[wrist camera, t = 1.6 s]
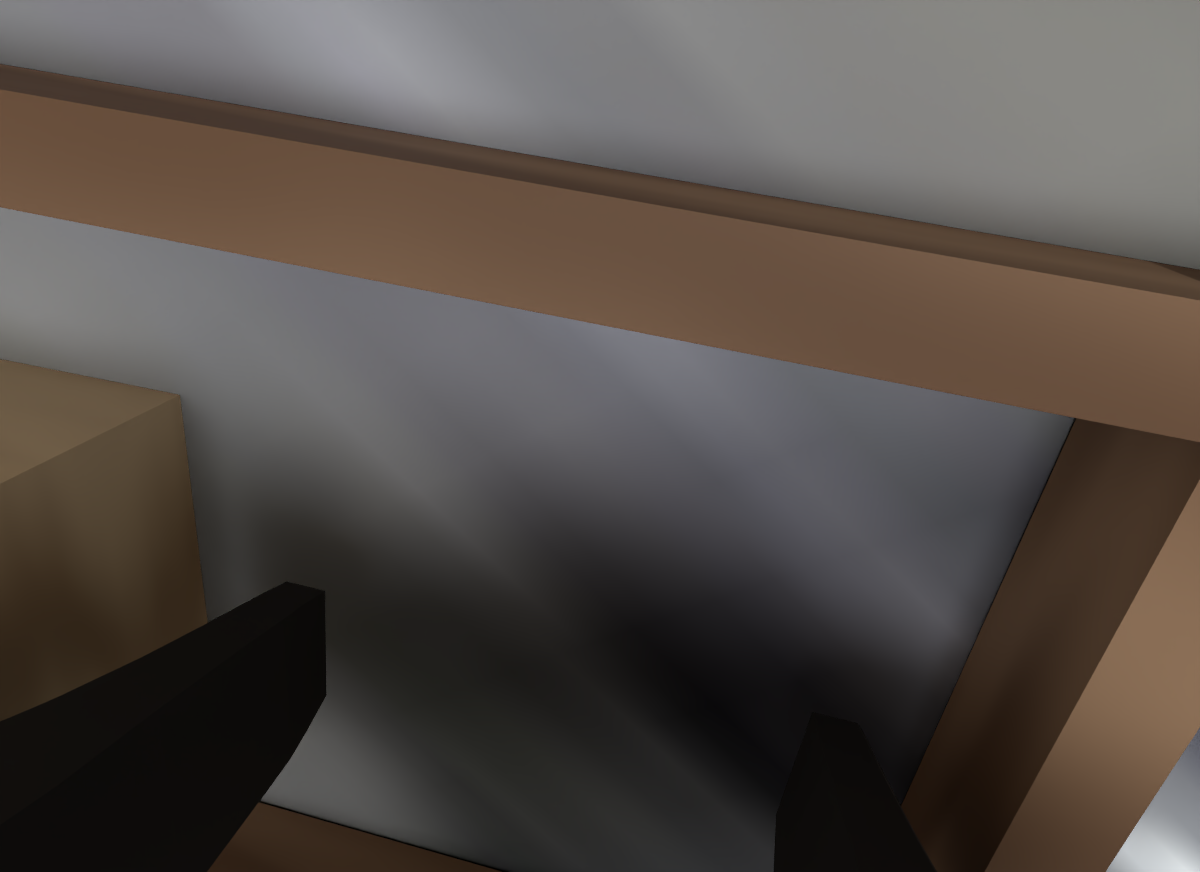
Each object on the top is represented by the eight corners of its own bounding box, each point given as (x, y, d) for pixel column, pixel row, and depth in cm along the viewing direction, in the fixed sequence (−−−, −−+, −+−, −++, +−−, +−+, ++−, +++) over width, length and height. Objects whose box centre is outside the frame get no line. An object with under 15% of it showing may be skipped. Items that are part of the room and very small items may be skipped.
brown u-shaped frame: (875, 1021, 14) (897, 1190, 12) (-141, 724, 17) (-279, 818, 15) (1261, 280, 8) (1449, 344, 6) (-412, -7, 11) (-717, -36, 9)
